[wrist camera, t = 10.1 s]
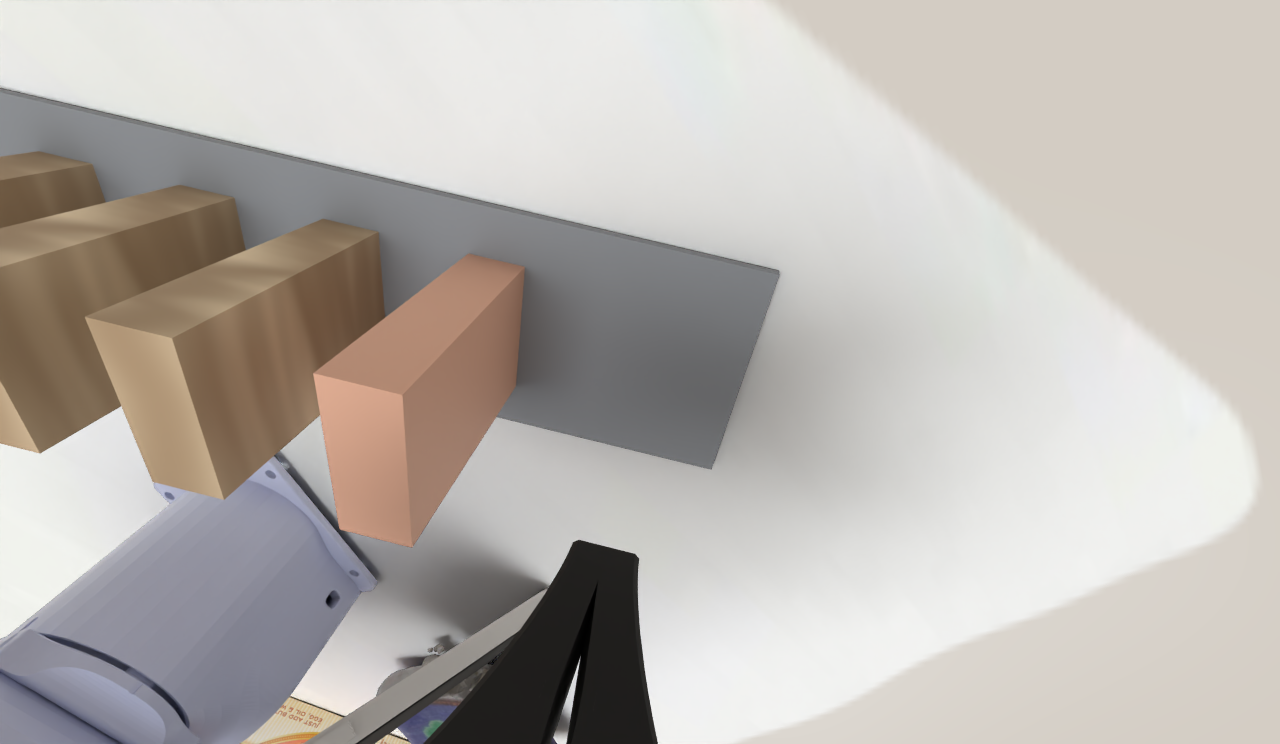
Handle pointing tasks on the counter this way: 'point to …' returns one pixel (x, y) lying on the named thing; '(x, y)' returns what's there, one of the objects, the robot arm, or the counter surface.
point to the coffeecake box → (300, 725)
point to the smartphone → (427, 682)
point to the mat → (456, 226)
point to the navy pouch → (440, 709)
